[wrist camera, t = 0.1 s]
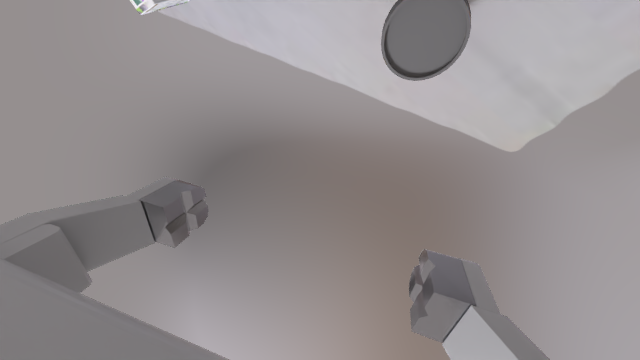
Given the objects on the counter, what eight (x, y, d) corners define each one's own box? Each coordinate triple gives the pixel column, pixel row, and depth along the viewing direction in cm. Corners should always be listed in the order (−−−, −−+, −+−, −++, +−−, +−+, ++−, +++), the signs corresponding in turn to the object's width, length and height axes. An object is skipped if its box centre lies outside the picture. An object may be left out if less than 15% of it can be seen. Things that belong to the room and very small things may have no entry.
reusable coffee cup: (400, -32, 40) (392, -21, 30) (477, -25, 37) (494, -10, 28) (382, 47, 49) (371, 75, 39) (442, 56, 47) (447, 88, 37)
